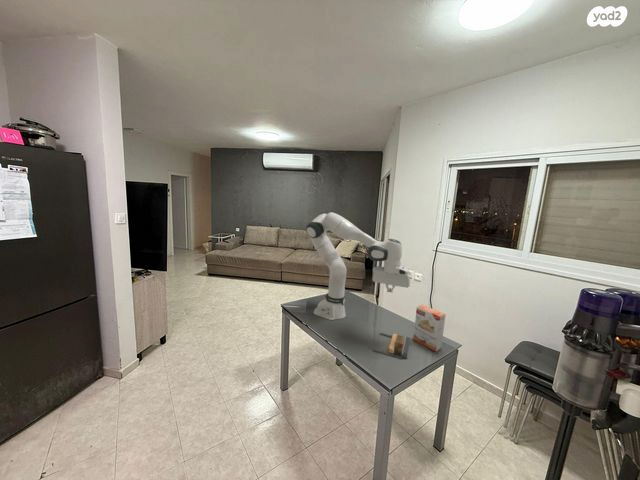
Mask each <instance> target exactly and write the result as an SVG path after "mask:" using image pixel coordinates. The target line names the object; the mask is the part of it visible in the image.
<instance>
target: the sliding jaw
mask: <svg viewBox="0 0 640 480" xmlns="http://www.w3.org/2000/svg"><path fill="white" fill-rule="evenodd" d="M397 335H398V334H397V333H393V334H392V338H391V340H390V343H389V345H388V353H391V354H395V353H394V348H395V340H396V337H397Z"/></svg>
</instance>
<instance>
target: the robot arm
mask: <svg viewBox="0 0 640 480" xmlns="http://www.w3.org/2000/svg"><path fill="white" fill-rule="evenodd" d="M328 231H330V232H331V233H333V234H334V235H335V236H337V237H339V238H341V239H342V240H347V241H349V240H351V241H355V242H356V241H357V242H359V243H361V244H363V245H364V246H366V247H368V249H367V256H368V258H369V259H370V260H371V261H373V262H383V266H379V265H375V266H374V267H373V268H372V273H373V274H372V279H371V280H372V282H374V283H378V284H383V285H384V286H385V288H386V292H387V293H391V294H392V293H393V290H394V289H395V287H401V288H405V289H407V288H409V287H410V284H411V279H410V277H411V275H410V274H409V268H407V267H405V266H403V265H401V258H402V254H403V247H402V242H401V241H400V240H397V239H393V238H387V239H386V240H384V241H383V240H380V239H379V240H378V239H376V238H374V237H373V236H371V235H369V234H368V233H366V232H364V231H363V230H361V229H360V228H358V227H357V226H356V225H355V224H354V223H352V222H350V221H349V220H348V219H346V218H345V217H343V216H342V215H339V214H338V213H335V212H332V211H331V212H329V211H324V212H322V213H320V214H319V215H318V216H316V217H315V218H314V219H313V220H311V221H310V222H309V223H308V224H306V227H305V232H306V234H307V236H309V238H310V241H311V242H312V245H313V247H314V249H315V250H316V252H317V253H318V255H319V256H320V259H322V261H324V263H325V265H326V266H327V267H328V270H329V280H328V292H327V293H326V295H325V296H324V299H323V300H320V302H318V304H317V307H315V308H314V309H313V314H314V315H315V316H318V317H320V318H323V319H327V320H329V321H334V320H342V319H344V318H346V309H345V302H346V296H345V293H346V292H345V291H346V290H345V287H346V280H347V272H348V271H347V266H346V264H345V262H344V260H343V258H342V257H341V255H340V254H339V252H338V251H337V249H336V248H335V246H334V244H333V243H332V241H331V239H330V238H329V236H328V235H327V232H328ZM389 285H390V286H392V288H390V286H389Z"/></svg>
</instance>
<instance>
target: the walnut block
mask: <svg viewBox="0 0 640 480" xmlns="http://www.w3.org/2000/svg"><path fill="white" fill-rule="evenodd" d="M405 337H406V336H404V335H400V334H397V337H396V340H395V348H394V353H393V354H395V355H398V356H402V350H403V345H404V339H405Z"/></svg>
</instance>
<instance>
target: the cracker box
mask: <svg viewBox="0 0 640 480" xmlns="http://www.w3.org/2000/svg"><path fill="white" fill-rule="evenodd" d="M445 320H446V313H443V312H441V311H438V310H436V309H433V308H431V307H430V306H428V305H424V304H421V305H418V306H416V311H415V320H414V329H413V330H414V331H413V341H415V342H417V343H419V344H420V345H422V346H425V347H426V348H427V349H430V350H431V351H433V352H438V351H439V350H441V349H442V344H443V336H444V328H445V323H446V321H445Z"/></svg>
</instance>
